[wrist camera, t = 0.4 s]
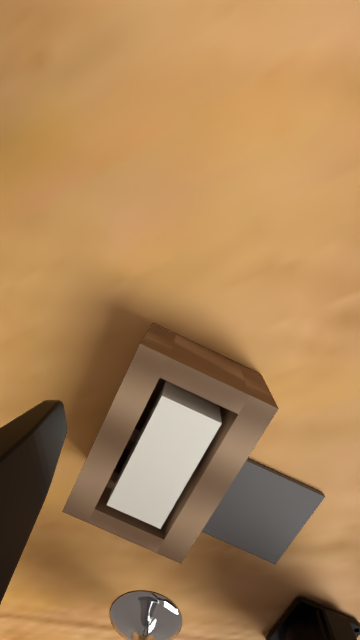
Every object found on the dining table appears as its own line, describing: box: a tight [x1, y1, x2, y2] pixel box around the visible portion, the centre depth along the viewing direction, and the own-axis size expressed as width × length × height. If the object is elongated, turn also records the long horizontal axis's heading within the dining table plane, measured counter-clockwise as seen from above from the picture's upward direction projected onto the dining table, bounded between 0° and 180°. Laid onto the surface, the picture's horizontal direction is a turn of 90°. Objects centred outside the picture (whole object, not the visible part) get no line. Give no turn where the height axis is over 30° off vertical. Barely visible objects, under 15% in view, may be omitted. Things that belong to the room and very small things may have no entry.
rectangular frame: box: [62, 323, 278, 564], centre depth 21 cm, size 13×9×5 cm
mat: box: [202, 458, 325, 564], centre depth 25 cm, size 8×8×1 cm
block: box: [107, 382, 222, 529], centre depth 20 cm, size 9×4×2 cm, turn 155°
